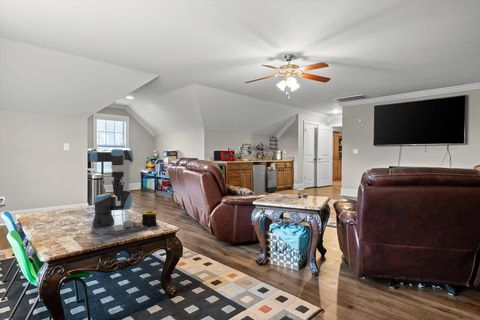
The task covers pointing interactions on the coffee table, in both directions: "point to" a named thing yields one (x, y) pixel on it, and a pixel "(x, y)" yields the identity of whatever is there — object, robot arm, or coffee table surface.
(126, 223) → the key slate
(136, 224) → the key coral
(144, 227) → the keypad base
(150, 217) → the candle
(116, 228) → the key ivory
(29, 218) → the coffee table surface
